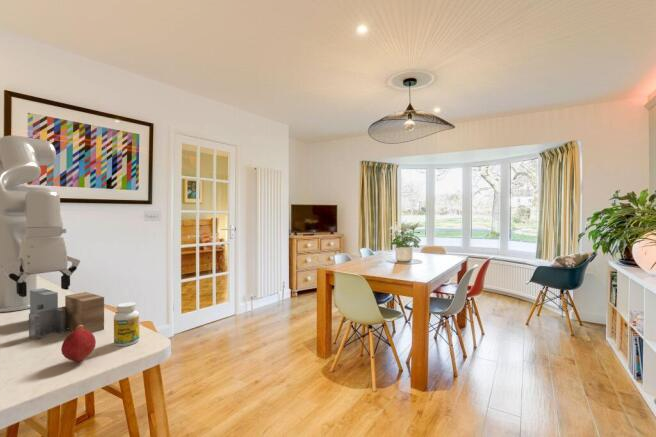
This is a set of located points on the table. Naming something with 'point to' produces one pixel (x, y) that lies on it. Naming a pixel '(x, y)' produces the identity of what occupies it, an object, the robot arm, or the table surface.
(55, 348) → the table surface
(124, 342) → the supplement bottle
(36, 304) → the pale blue tall prism
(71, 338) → the onion
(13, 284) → the robot arm
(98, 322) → the brown tall rectangular block
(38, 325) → the gray wooden bench
